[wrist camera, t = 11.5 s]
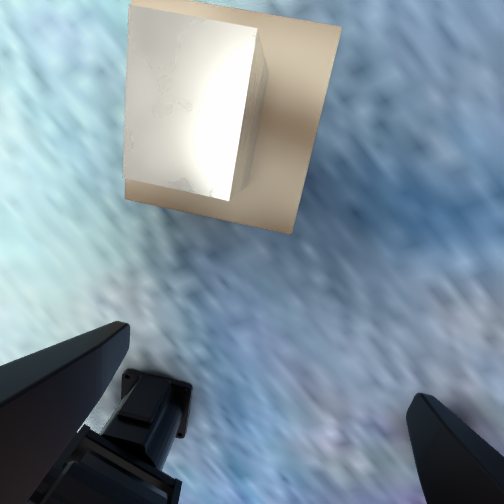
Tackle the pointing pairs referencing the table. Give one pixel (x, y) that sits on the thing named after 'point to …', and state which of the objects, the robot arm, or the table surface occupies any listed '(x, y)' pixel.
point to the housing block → (192, 102)
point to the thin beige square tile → (264, 119)
